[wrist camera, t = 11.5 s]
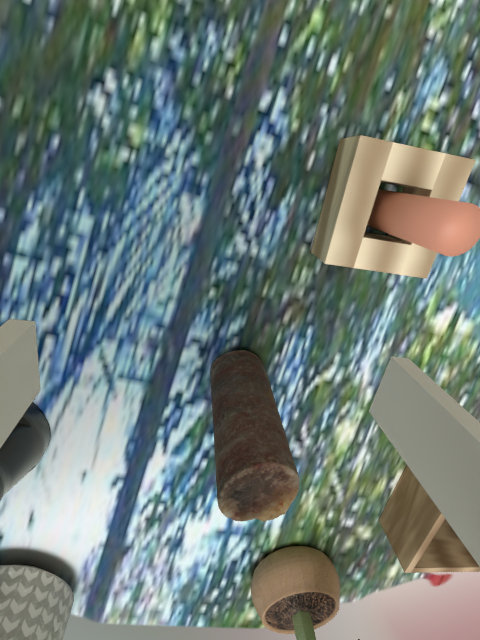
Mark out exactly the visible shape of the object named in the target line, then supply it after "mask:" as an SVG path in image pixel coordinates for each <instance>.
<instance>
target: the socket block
mask: <svg viewBox="0 0 480 640" xmlns="http://www.w3.org/2000/svg"><path fill="white" fill-rule="evenodd" d="M474 163H475V160H473V159H468V158H464V157H459V156H454V155H450V154H445V153H440V152H436V151H431V150H427V149H422V148H417V147H413V146H408V145H403V144H399V143H394V142H390V141H385V140H380V139H376V138H371V137H367V136H362V135H359V136H353V137H348V138H342V139H340V141H339V145H338V149H337V153H336V157H335V161H334V165H333V168H332V172H331V176H330V180H329V184H328V188H327V192H326V196H325V199H324V203H323V207H322V211H321V215H320V219H319V223H318V227H317V230H316V234H315V238H314V242H313V246H312V250H311V253H313V254H314V255H315V256H316V257H317V258H319V259H320V260H321V261H322V262H323V263H325V264H331V265H338V266H345V267H352V268H358V269H365V270H372V271H379V272H386V273H393V274H399V275H406V276H413V277H420V278H427V276H428V274H429V272H430V269H431V267H432V264H433V262H434V259H435V257H436V255H437V252H435V251H432V250H430V249H427V248H424V247H422V246H419V245H416V244H414V243H411V242H409V241H406V240H403V239H401V238H398V237H396V236H393V235H390V234H388V236H386V235H380V234H374V233H368V232H365V230H366V227H367V224H368V220H369V217H370V214H371V211H372V208H373V205H374V201H375V198H376V195H377V192H378V189H379V186H380V182H383V183H388V184H393V185H398V186H404V190H403V193H406V194H413V195H419V196H426V197H432V198H439V199H446V200H452V201H459V199H460V197H461V194H462V192H463V189H464V187H465V185H466V182H467V180H468V177H469V175H470V172H471V170H472V168H473V165H474Z"/></svg>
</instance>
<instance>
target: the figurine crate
mask: <svg viewBox="0 0 480 640" xmlns="http://www.w3.org/2000/svg"><path fill="white" fill-rule="evenodd" d="M379 522H380V524H381V526H382V528H383V530H384V532H385V534H386V536H387V538H388V540H389V542H390V544H391V546H392V548H393V550H394V552H395V554H396V556H397V558H398V560H399V562H400V564H401V566H402V568H403V570H404V572H405V573H411V572H480V567H479V565H478V564H477V562H476V561H475V560H474V558H473V557H472V555H471V554H470V553H469V551H468V550H467V548H466V547H465V546H464V544H463V543H462V541H461V540H460V539H459V537H458V536H457V534H456V533H455V531H454V530H453V529H452V527H451V526H450V524H449V523H448V522H447V520H446V519H445V517H444V516H443V515H442V513H441V512H440V510H439V509H438V508H437V506H436V505H435V503H434V502H433V501H432V499H431V498H430V496H429V495H428V494H427V492H426V491H425V489H424V488H423V487H422V485H421V484H420V482H419V481H418V480H417V478H416V477H415V475H414V474H413V472H412V471H411V470H410V468H409V467H408V465H407V466H406V467H405V469H404V471H403V473H402V475H401V477H400V479H399V481H398V483H397V485H396V487H395V489H394V491H393V493H392V495H391V497H390V499H389V501H388V503H387V505H386V507H385V509H384V511H383V513H382V515H381V517H380V518H379Z"/></svg>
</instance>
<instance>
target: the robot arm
mask: <svg viewBox="0 0 480 640" xmlns="http://www.w3.org/2000/svg"><path fill="white" fill-rule="evenodd" d="M39 391H40V378H39V364H38V351H37V337H36V323H35V321H26V320H16V319H9V320H8V321H7V322H5V323H4V324H3V325H2V326H1V327H0V500H1V499H2V497H3V496H4V494H6V493H7V492H8V491H9V490H10V489H11V488H12V487H13V486H14V485H16V484H17V483H18V482H19V481H20V480H21V479H22V478H23V477H24V476H25V475H26V474H27V473H28V472H30V471H31V470H32V469H33V468H34V467H35V466H36V465H37V464H38V462H39V461H40V460H41V458H42V456H43V454H44V452H45V450H46V449H47V447H48V444H49V441H50V429H49V425H48V422H47V420H46V418H45V417H44V415H43V414H42V412H41V411H40V410H39V409H38V408H37V407H36V406H35V405H34V404H33V403H32V402H33V400H34V399H35V397H36V396H37V394H38V393H39ZM369 412H370V413H371V415H372V416H373V418H374V419H375V421H376V422H377V423H378V425H379V426H380V428H381V429H382V430H383V432H384V433H385V435H386V436H387V437H388V439H389V440H390V442H391V443H392V444H393V446H394V447H395V449H396V450H397V451H398V453H399V454H400V456H401V457H402V458H403V460H404V461H405V463H406V464H407V465H408V467H409V468H410V470H411V471H412V472H413V474H414V475H415V477H416V478H417V480H418V481H419V482H420V484H421V485H422V487H423V488H424V489H425V491H426V492H427V494H428V495H429V496H430V498H431V499H432V501H433V502H434V503H435V505H436V506H437V508H438V509H439V510H440V512H441V513H442V515H443V516H444V517H445V519H446V520H447V522H448V523H449V524H450V526H451V527H452V529H453V530H454V531H455V533H456V534H457V536H458V537H459V539H460V540H461V541H462V543H463V544H464V546H465V547H466V548H467V550H468V551H469V553H470V554H471V555H472V557H473V558H474V560H475V561H476V562H477V564H478V565H479V567H480V422H478V421H477V420H476V419H475V418H474V417H473V416H472V415H471V414H470V413H468V412H467V411H466V410H465V409H464V408H463V407H462V406H461V405H459V404H458V403H457V402H456V401H455V400H454V399H453V398H452V397H451V396H449V395H448V394H447V393H446V392H445V391H444V390H443V389H442V388H441V387H439V386H438V385H437V384H436V383H435V382H434V381H433V380H432V379H431V378H429V377H428V376H427V375H426V374H425V373H424V372H423V371H422V370H421V369H419V368H418V367H417V366H416V365H415V364H414V363H413V362H412V361H411V360H409V359H408V358H399V357H391V359H390V361H389V364H388V366H387V369H386V371H385V374H384V376H383V378H382V381H381V383H380V386H379V388H378V391H377V393H376V396H375V398H374V400H373V403H372V405H371V408H370V410H369Z"/></svg>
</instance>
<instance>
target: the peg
mask: <svg viewBox="0 0 480 640" xmlns="http://www.w3.org/2000/svg"><path fill="white" fill-rule="evenodd" d="M367 226H370V227H372V228H375V229H377V230H380V231H383V232H385V233H388V234H390V235H393V236H396V237H398V238H401V239H403V240H406V241H409V242H411V243H414V244H416V245H419V246H422V247H424V248H427V249H430V250H432V251H435V252H437V253H440V254H443V255H445V256H457V255H460V254H463V253H465V252H466V251H468V250H469V249H470V248H472V247H473V246H474V245H475V244H476V242H477V241H478V239H479V238H480V208H479V207H478V206H476V205H474V204H471V203H465V202H459V201H452V200H446V199H439V198H432V197H426V196H419V195H413V194H406V193H400V192H393V191H387V190H380V189H378V192H377V195H376V198H375V201H374V205H373V208H372V211H371V214H370V217H369V220H368V224H367Z"/></svg>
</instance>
